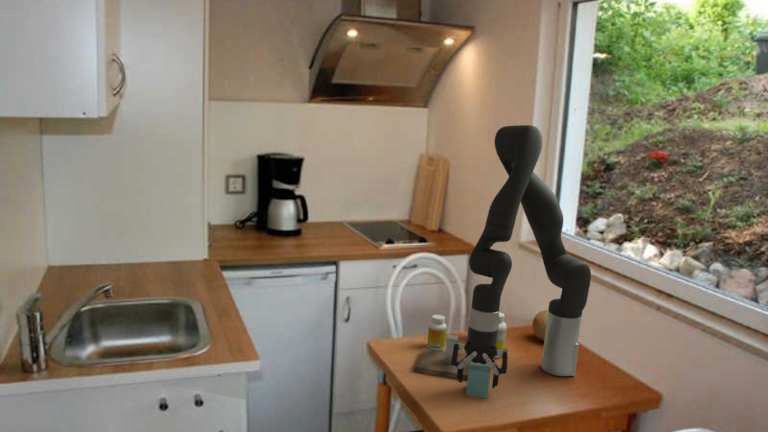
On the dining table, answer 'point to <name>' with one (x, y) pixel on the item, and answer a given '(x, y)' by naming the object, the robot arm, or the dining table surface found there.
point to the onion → (540, 324)
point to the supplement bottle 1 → (437, 333)
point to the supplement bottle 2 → (501, 334)
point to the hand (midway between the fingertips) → (476, 384)
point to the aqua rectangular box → (478, 380)
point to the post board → (438, 364)
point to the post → (450, 348)
